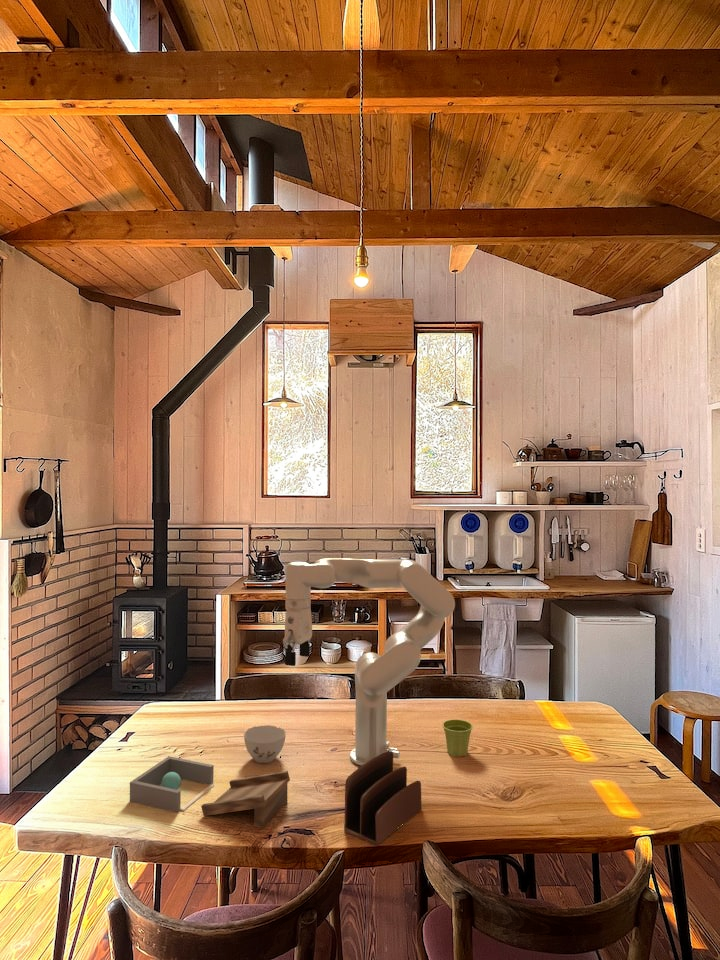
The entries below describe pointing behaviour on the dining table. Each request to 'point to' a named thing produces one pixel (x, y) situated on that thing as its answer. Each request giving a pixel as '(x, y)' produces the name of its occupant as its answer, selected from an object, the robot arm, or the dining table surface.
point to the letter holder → (379, 799)
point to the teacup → (264, 742)
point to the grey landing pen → (167, 798)
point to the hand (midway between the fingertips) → (297, 660)
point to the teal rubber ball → (171, 780)
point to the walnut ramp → (253, 797)
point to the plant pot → (457, 736)
